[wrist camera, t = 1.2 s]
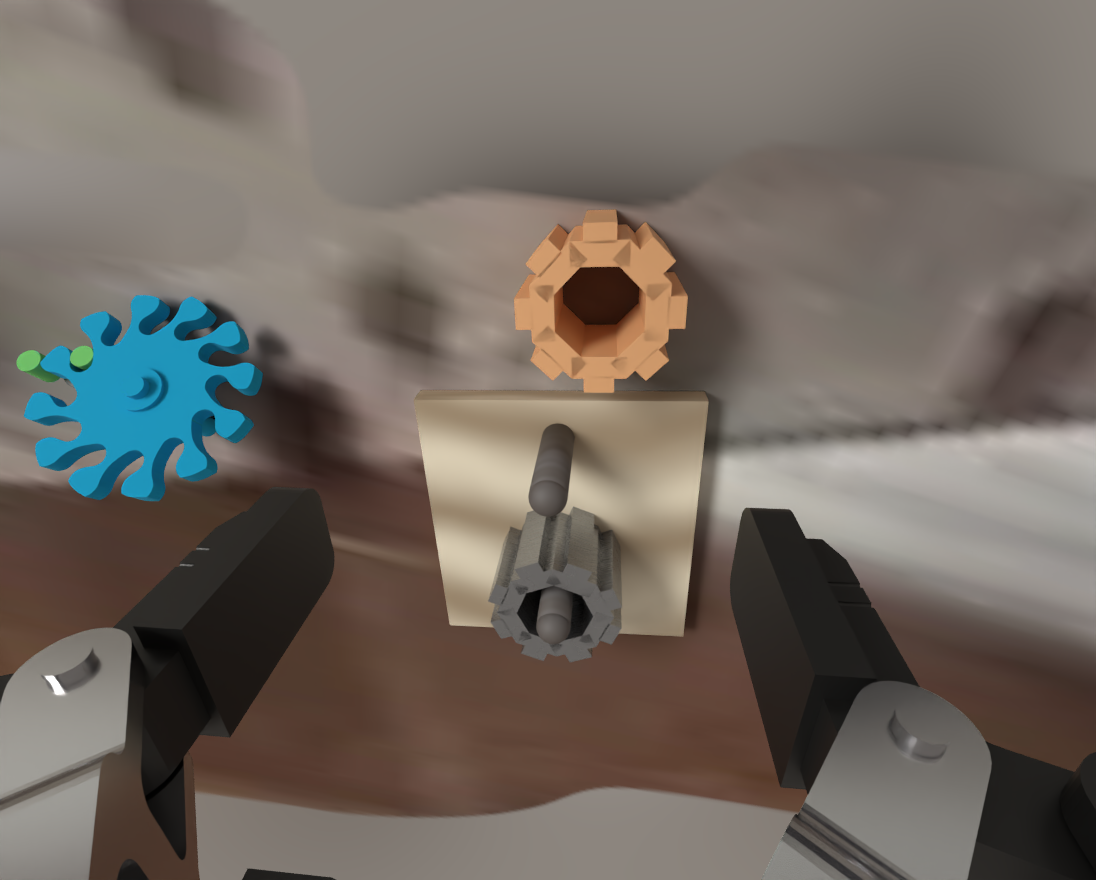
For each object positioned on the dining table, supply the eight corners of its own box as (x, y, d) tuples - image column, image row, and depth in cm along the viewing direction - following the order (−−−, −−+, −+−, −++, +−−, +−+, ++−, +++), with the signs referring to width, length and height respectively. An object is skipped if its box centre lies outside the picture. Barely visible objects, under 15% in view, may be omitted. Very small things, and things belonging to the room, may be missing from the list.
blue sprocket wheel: (288, 326, 25) (170, 532, 22) (333, 378, 31) (243, 548, 28) (79, 252, 26) (-60, 440, 23) (160, 315, 32) (56, 473, 29)
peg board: (420, 390, 28) (365, 461, 22) (704, 391, 26) (735, 467, 20) (454, 610, 35) (420, 713, 28) (680, 621, 33) (697, 731, 27)
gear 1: (526, 212, 23) (509, 224, 20) (679, 207, 23) (694, 219, 19) (533, 355, 26) (520, 392, 22) (669, 355, 26) (679, 392, 22)
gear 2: (484, 526, 30) (465, 583, 26) (593, 490, 28) (590, 546, 24) (534, 609, 32) (523, 673, 28) (637, 581, 31) (641, 645, 27)
